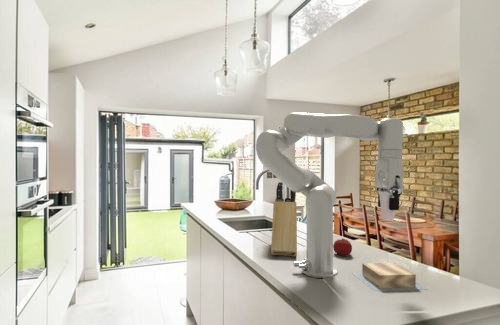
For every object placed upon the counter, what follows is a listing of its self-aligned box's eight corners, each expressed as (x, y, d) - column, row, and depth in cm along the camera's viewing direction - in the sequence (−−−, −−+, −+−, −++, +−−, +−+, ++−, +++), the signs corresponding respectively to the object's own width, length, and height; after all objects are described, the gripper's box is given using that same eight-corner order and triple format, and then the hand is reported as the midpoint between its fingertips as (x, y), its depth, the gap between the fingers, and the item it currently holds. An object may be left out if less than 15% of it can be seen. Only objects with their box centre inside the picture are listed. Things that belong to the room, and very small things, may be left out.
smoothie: (392, 218, 107) (393, 178, 108) (402, 222, 101) (403, 179, 101) (374, 218, 107) (375, 178, 107) (382, 221, 101) (384, 178, 101)
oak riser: (380, 288, 97) (380, 275, 97) (362, 274, 109) (362, 263, 109) (415, 287, 99) (415, 274, 99) (394, 273, 111) (394, 262, 111)
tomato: (351, 258, 131) (352, 241, 132) (332, 256, 134) (332, 239, 134) (352, 253, 139) (352, 237, 139) (333, 251, 142) (333, 235, 142)
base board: (374, 292, 95) (374, 291, 95) (351, 274, 111) (351, 273, 111) (428, 291, 97) (428, 289, 97) (398, 273, 113) (398, 271, 113)
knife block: (295, 239, 164) (295, 181, 164) (297, 259, 129) (298, 185, 129) (274, 238, 165) (274, 181, 166) (270, 257, 130) (271, 184, 131)
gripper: (366, 155, 112) (365, 204, 112) (393, 154, 95) (391, 212, 95) (386, 156, 113) (384, 205, 113) (416, 155, 96) (414, 212, 96)
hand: (388, 207), depth 104 cm, fingers closed on smoothie, 6 cm apart
